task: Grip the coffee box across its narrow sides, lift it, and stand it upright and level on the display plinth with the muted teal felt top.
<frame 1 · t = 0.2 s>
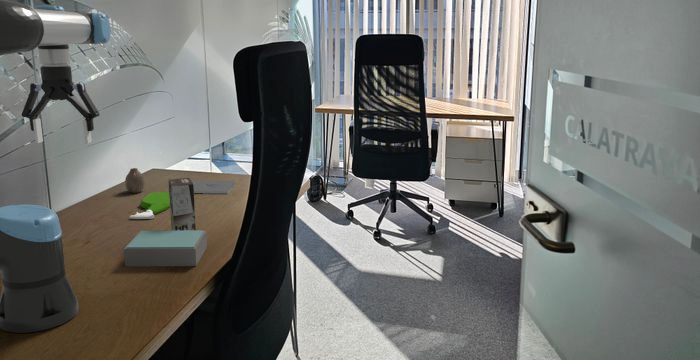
hand: (63, 142, 165), 28 cm above the table, tool pointing down, fingers open, 13 cm apart
coffee box: (183, 234, 176), on the table
vase: (135, 192, 221), on the table
display plinth: (168, 256, 158), on the table
play button award: (205, 190, 227), on the table
spray bottle: (154, 210, 200), on the table
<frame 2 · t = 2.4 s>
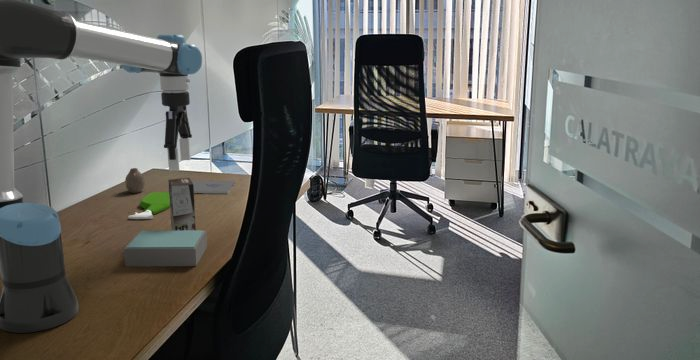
hand: (180, 165, 171), 21 cm above the table, tool pointing down, fingers open, 13 cm apart
nothing on the table moved.
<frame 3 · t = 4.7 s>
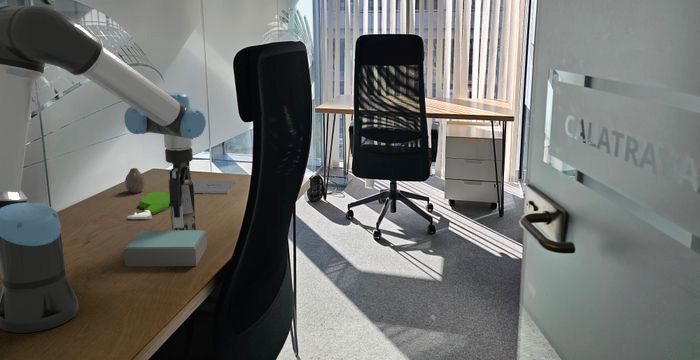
hand: (183, 221, 175), 4 cm above the table, tool pointing down, fingers closed on coffee box, 10 cm apart
coffee box: (184, 234, 176), on the table, touching gripper
everything else where it was.
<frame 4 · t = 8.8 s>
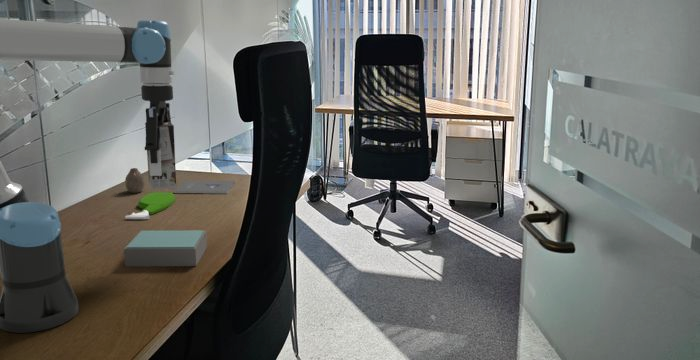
hand: (161, 170, 153), 23 cm above the table, tool pointing down, fingers closed on coffee box, 10 cm apart
coffee box: (162, 185, 154), point 19 cm above the table, touching gripper
everything else where it was.
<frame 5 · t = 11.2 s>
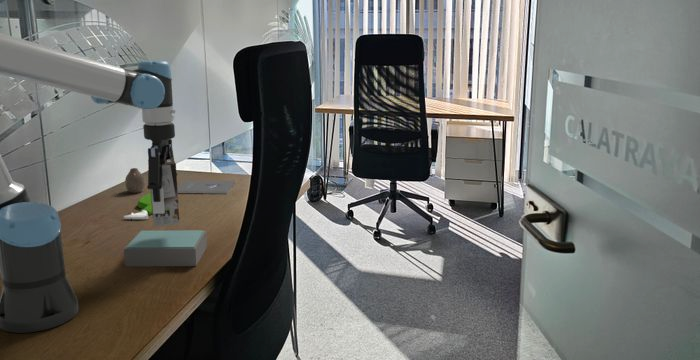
hand: (164, 206, 155), 14 cm above the table, tool pointing down, fingers closed on coffee box, 10 cm apart
coffee box: (166, 221, 156), point 10 cm above the table, touching gripper
when the fingers open (10 cm above the table, at t = 13.1 s): coffee box drops 1 cm, resting on display plinth.
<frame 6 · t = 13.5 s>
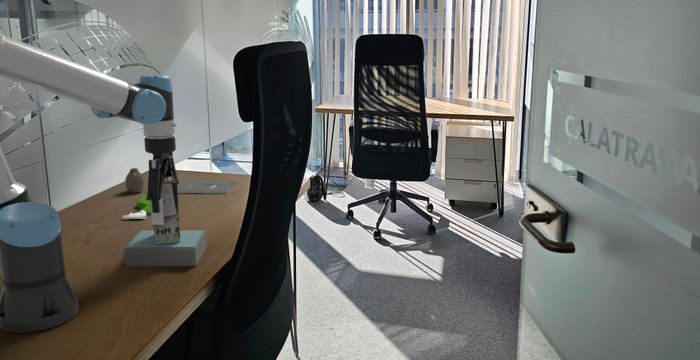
hand: (165, 216, 156), 11 cm above the table, tool pointing down, fingers open, 13 cm apart
coffee box: (167, 238, 157), point 5 cm above the table, touching display plinth
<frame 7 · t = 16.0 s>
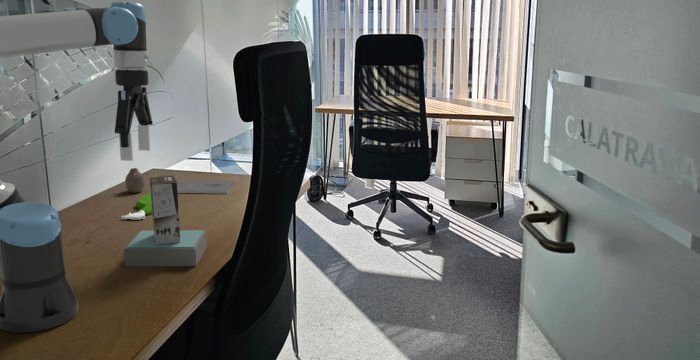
hand: (136, 155, 148), 28 cm above the table, tool pointing down, fingers open, 13 cm apart
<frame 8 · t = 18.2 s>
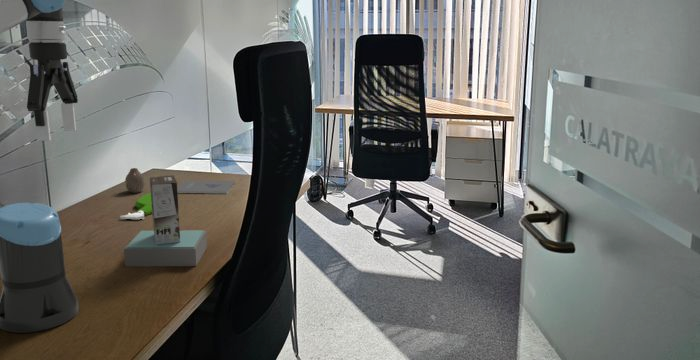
hand: (57, 135, 137), 35 cm above the table, tool pointing down, fingers open, 13 cm apart
at the end: coffee box inside the target area on the display plinth (0.3 cm from its centre), point 4.8 cm above the display plinth's base; coffee box tilted 0°; the gripper is holding nothing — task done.
